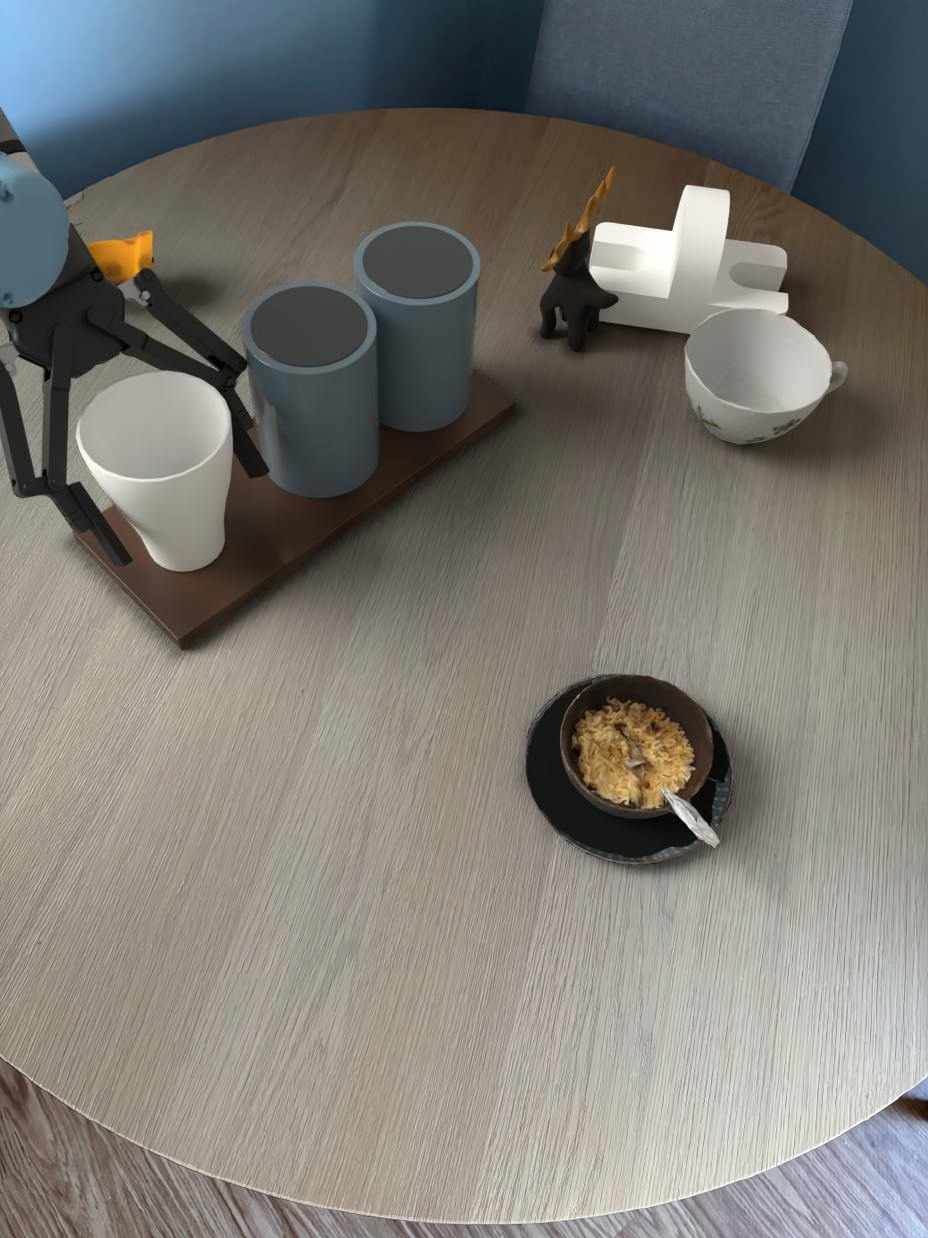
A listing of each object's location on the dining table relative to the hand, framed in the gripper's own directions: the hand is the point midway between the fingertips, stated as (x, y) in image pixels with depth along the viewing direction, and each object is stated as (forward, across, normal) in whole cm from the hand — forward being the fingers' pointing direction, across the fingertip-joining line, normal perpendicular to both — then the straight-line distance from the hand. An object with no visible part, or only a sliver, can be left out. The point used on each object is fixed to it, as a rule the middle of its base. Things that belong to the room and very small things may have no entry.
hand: (194, 518), depth 78 cm
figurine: (+6, -42, -5) cm, 43 cm away
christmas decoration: (-16, -16, -26) cm, 34 cm away
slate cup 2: (+2, -25, -6) cm, 26 cm away
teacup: (+19, -46, +9) cm, 51 cm away
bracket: (+8, -55, -2) cm, 55 cm away
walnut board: (+3, -13, -7) cm, 15 cm away
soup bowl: (+30, -11, +19) cm, 37 cm away
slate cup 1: (+2, -14, -6) cm, 15 cm away
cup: (+2, 0, -6) cm, 7 cm away
